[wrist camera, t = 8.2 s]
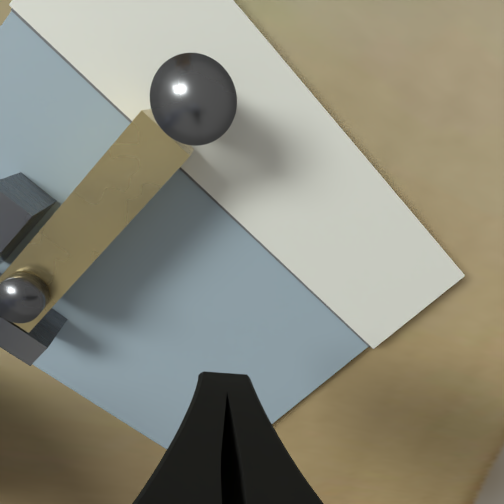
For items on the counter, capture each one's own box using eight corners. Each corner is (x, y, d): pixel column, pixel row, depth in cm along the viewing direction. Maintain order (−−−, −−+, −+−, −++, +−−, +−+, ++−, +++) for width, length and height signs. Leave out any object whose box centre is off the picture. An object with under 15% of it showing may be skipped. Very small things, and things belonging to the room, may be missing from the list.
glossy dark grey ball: (202, 148, 17) (196, 163, 13) (153, 100, 16) (131, 100, 12) (246, 101, 17) (254, 101, 13) (198, 49, 16) (190, 31, 12)
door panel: (208, 466, 24) (207, 481, 23) (-146, 239, 18) (-167, 246, 17) (453, 267, 20) (465, 275, 20) (121, -125, 14) (114, -142, 13)
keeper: (52, 335, 19) (30, 365, 17) (-55, 263, 18) (-95, 287, 15) (127, 257, 18) (114, 279, 16) (21, 172, 16) (-11, 183, 14)
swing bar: (152, 108, 15) (136, 110, 12) (194, 149, 16) (188, 159, 13) (7, 277, 17) (-33, 311, 14) (50, 306, 18) (19, 344, 15)
